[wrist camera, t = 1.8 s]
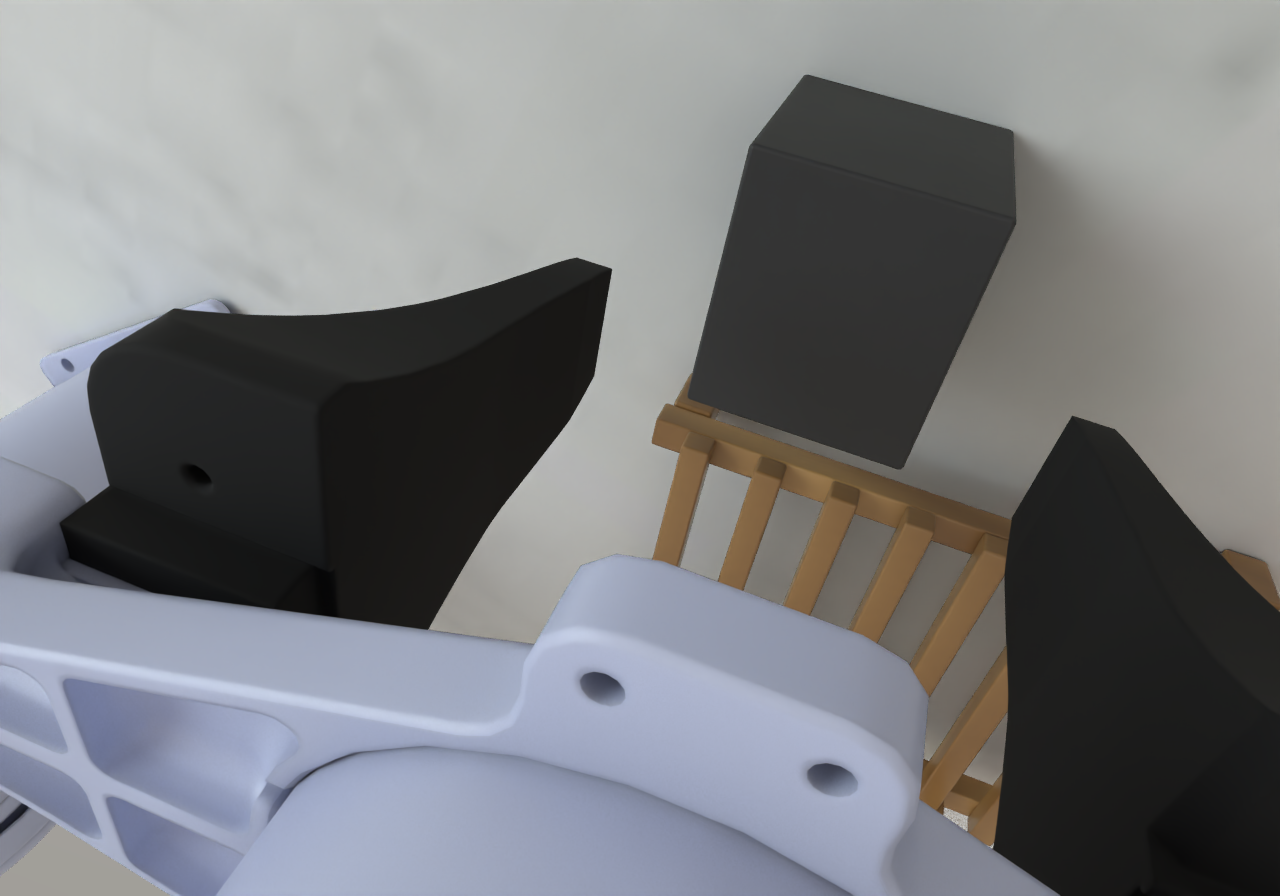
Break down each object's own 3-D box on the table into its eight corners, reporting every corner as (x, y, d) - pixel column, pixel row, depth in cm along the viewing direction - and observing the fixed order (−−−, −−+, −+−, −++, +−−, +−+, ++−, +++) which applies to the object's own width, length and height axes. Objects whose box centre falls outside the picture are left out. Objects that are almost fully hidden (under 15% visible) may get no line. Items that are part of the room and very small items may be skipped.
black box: (744, 292, 22) (685, 399, 18) (804, 73, 19) (749, 143, 15) (920, 347, 21) (901, 472, 17) (1014, 129, 18) (1018, 219, 14)
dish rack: (623, 620, 30) (558, 757, 25) (684, 368, 24) (612, 492, 19) (1075, 793, 27) (1089, 975, 23) (1276, 564, 21) (1347, 755, 17)
